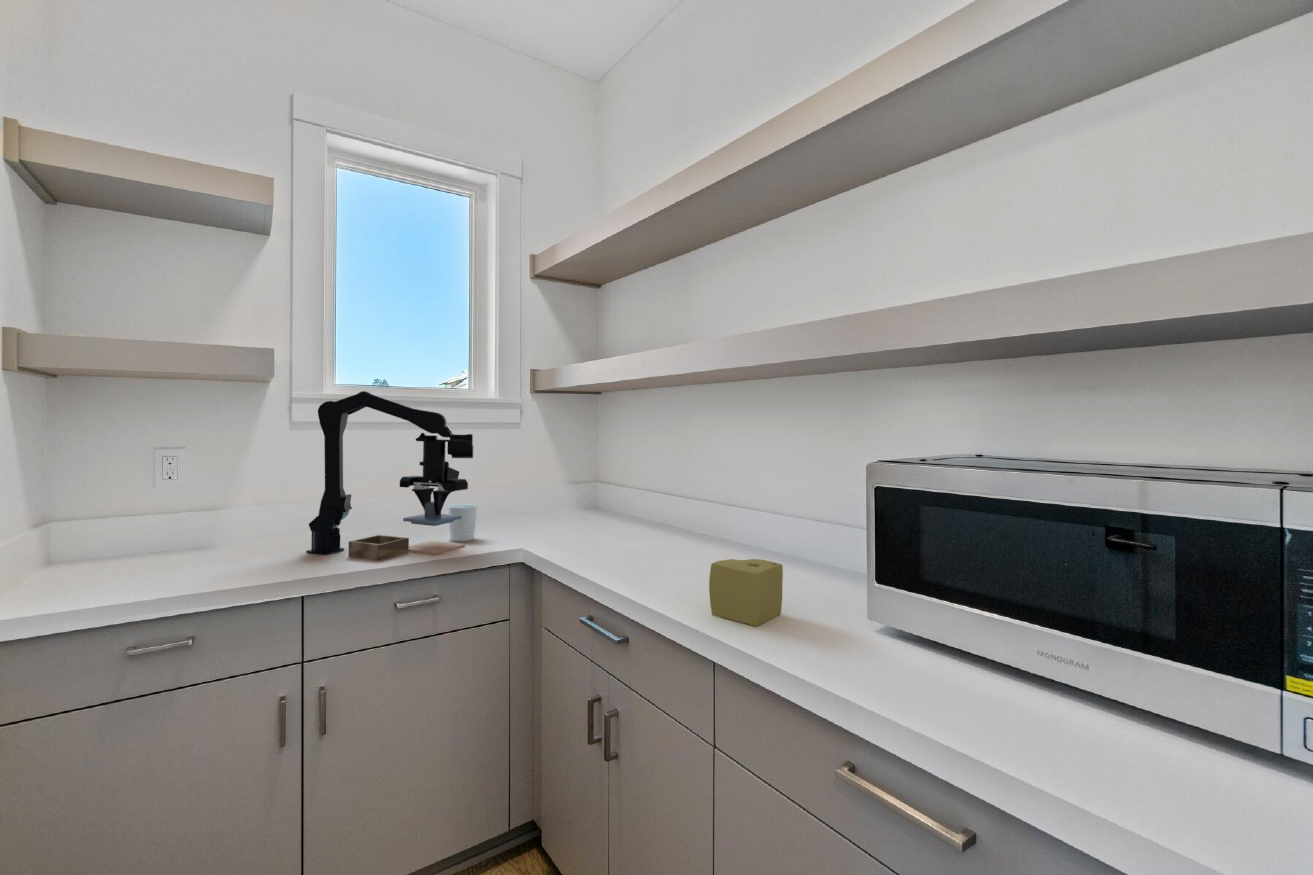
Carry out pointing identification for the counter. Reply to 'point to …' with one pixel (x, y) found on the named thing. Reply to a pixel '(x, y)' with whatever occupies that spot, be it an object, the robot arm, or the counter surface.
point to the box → (378, 547)
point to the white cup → (463, 522)
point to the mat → (434, 547)
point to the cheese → (746, 590)
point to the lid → (431, 517)
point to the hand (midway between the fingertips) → (433, 514)
